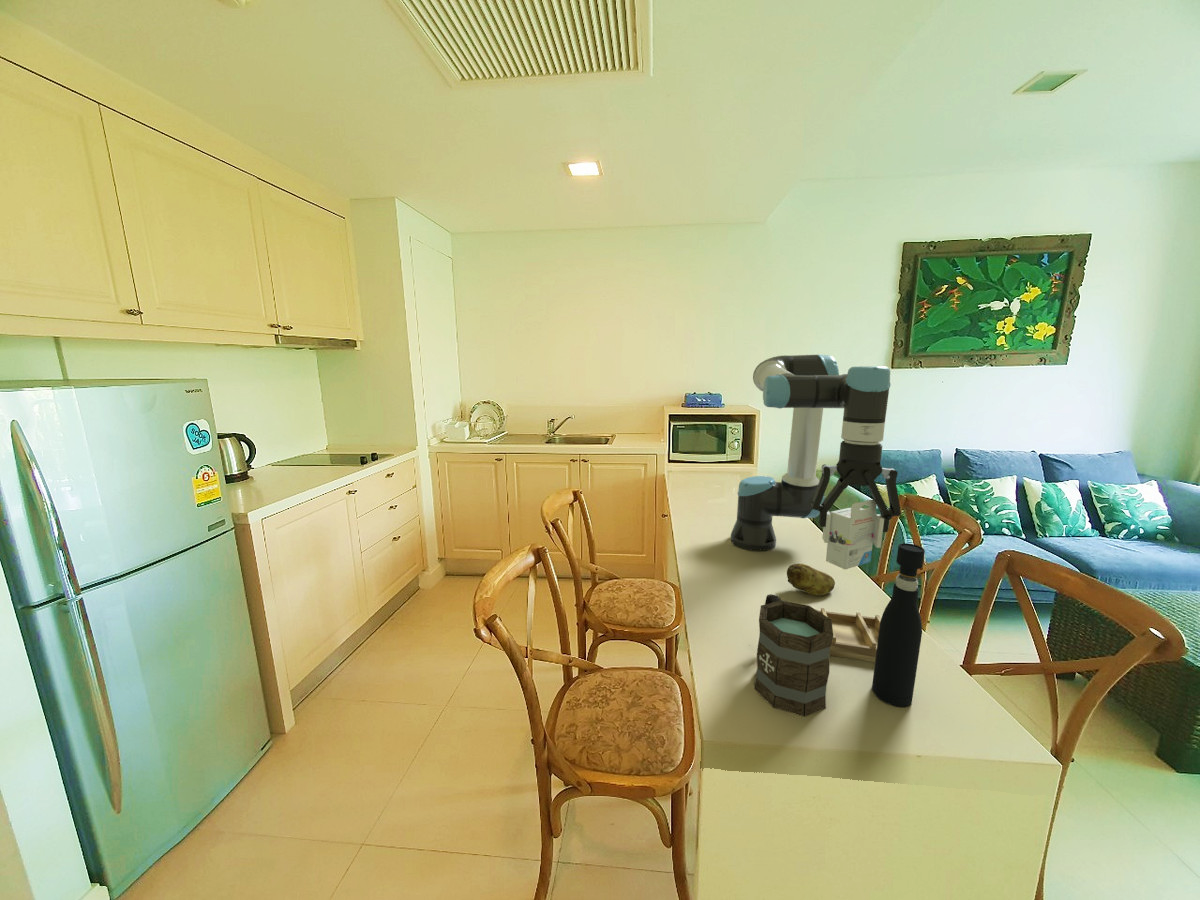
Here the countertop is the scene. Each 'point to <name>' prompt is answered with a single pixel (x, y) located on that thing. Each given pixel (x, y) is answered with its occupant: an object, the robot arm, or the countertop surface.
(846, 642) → the rack
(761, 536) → the robot arm
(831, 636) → the mug
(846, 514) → the ink box
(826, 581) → the potato
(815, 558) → the countertop surface
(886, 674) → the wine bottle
